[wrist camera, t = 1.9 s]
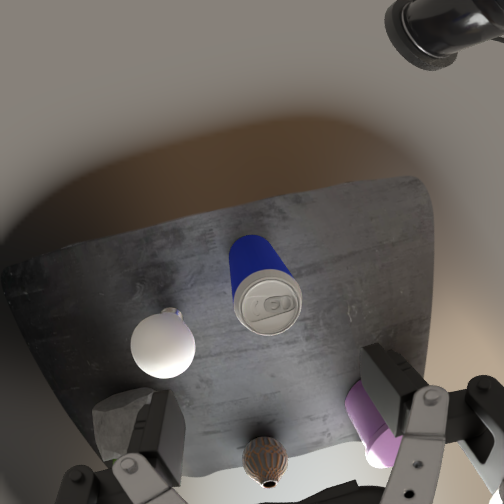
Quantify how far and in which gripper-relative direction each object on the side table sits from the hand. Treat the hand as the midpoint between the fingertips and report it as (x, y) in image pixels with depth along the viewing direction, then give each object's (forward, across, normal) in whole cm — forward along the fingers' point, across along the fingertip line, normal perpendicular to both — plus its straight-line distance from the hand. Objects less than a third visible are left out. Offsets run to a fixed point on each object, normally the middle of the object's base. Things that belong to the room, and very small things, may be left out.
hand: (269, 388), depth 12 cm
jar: (+26, -16, +28) cm, 41 cm away
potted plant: (+26, +18, +22) cm, 38 cm away
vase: (+26, +3, +32) cm, 41 cm away
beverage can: (+26, -1, +1) cm, 26 cm away
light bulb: (+26, +10, +6) cm, 28 cm away
